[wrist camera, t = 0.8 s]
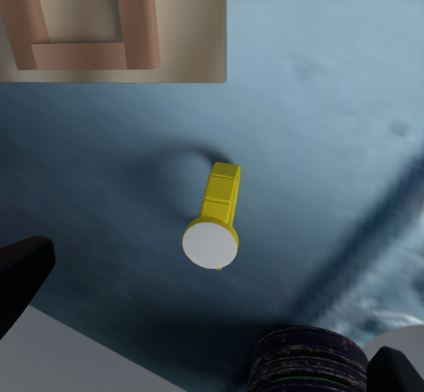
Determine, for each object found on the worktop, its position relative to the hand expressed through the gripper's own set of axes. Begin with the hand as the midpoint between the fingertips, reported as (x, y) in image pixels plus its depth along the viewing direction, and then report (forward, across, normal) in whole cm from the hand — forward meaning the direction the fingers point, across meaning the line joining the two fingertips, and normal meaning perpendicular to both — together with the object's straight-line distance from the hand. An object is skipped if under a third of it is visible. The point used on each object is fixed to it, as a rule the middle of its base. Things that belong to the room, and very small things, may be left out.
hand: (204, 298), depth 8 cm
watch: (+12, +1, +4) cm, 13 cm away
